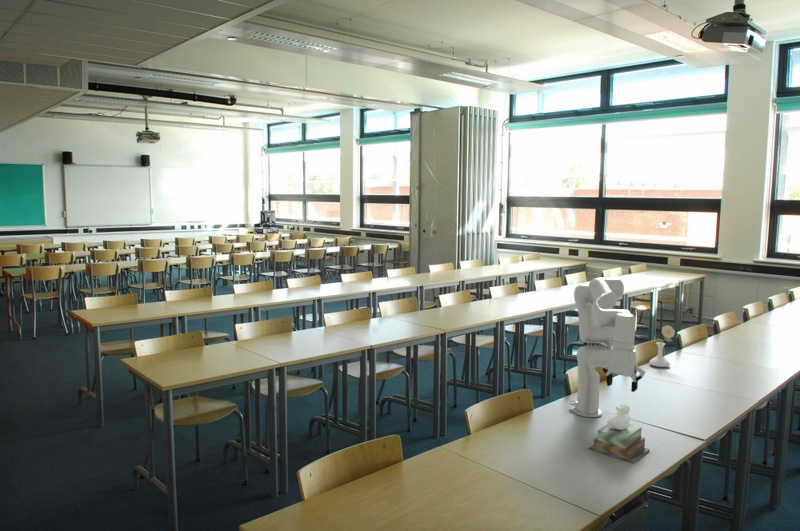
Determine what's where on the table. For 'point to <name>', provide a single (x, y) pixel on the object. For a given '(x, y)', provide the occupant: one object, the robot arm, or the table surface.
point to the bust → (620, 418)
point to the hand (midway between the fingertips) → (621, 388)
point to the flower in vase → (659, 359)
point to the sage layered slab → (621, 443)
